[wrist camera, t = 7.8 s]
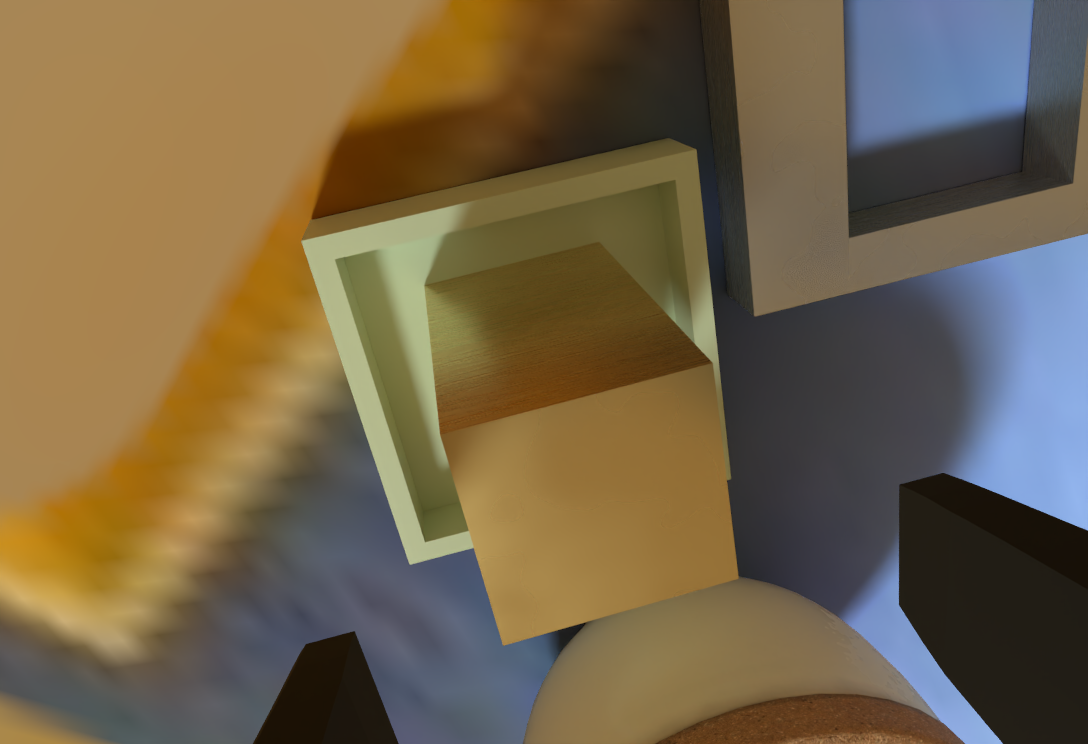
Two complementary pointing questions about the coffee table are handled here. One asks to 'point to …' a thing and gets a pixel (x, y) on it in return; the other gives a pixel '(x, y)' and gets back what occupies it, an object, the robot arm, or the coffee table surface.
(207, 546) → the coffee table surface
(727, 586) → the lidded jar
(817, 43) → the grey rectangular frame
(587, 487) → the upright wooden block
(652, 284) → the parts tray
